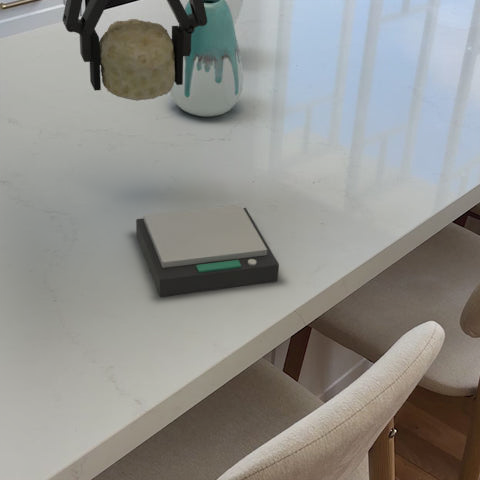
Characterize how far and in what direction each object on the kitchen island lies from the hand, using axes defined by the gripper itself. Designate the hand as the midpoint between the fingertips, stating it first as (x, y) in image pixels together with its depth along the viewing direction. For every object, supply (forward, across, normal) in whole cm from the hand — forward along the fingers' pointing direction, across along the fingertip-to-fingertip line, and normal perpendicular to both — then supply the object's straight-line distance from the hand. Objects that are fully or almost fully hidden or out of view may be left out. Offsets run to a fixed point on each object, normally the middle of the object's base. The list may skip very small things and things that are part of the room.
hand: (136, 83), depth 109 cm
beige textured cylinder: (0, 0, 0) cm, 0 cm away
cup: (+16, +23, +43) cm, 51 cm away
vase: (+16, +16, +24) cm, 33 cm away
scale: (+15, +4, -17) cm, 23 cm away
